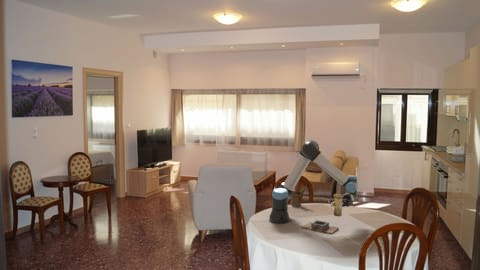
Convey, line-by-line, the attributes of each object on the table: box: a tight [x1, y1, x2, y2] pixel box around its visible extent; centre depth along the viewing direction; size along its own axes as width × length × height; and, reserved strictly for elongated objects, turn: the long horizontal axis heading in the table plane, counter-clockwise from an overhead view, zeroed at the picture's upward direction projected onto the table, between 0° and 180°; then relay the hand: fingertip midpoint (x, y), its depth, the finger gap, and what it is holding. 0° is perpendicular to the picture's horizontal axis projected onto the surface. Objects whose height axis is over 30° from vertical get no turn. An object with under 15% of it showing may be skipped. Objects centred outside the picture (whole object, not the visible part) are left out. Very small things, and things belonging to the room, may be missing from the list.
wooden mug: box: [289, 185, 306, 207], centre depth 340 cm, size 9×14×18 cm, turn 55°
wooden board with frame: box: [301, 219, 340, 235], centre depth 277 cm, size 22×14×4 cm, turn 57°
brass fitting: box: [333, 193, 344, 217], centre depth 268 cm, size 6×6×14 cm
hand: (335, 205), depth 263 cm, fingers closed on brass fitting, 5 cm apart
